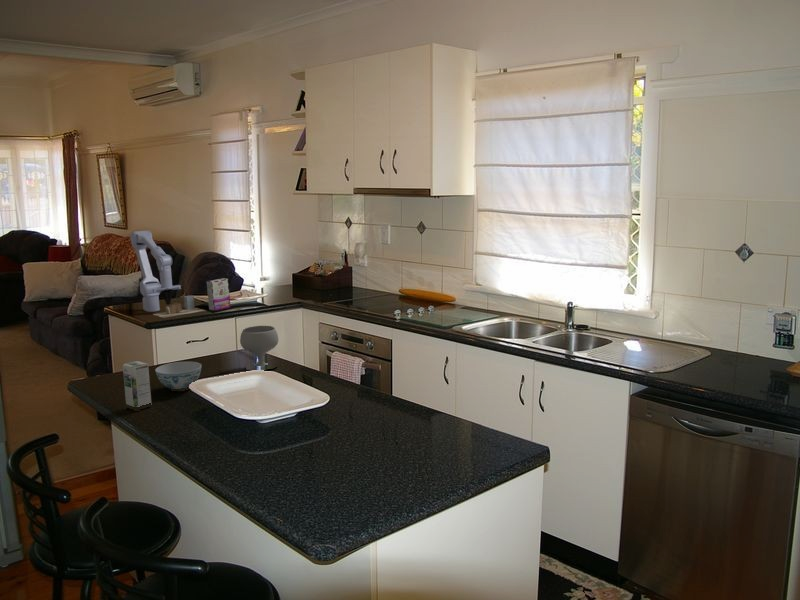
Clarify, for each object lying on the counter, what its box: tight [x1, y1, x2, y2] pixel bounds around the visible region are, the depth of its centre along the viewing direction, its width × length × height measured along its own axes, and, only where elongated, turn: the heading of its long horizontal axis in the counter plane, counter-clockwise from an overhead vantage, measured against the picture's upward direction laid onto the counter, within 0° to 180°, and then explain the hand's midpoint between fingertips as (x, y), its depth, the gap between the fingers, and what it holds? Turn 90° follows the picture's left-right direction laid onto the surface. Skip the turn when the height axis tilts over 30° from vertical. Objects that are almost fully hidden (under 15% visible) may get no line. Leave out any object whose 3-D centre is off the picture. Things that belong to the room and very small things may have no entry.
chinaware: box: [154, 361, 202, 389], centre depth 238 cm, size 15×15×8 cm
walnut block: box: [164, 302, 183, 314], centre depth 369 cm, size 4×4×7 cm
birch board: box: [152, 307, 207, 319], centre depth 371 cm, size 14×24×1 cm, turn 133°
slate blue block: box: [182, 295, 196, 310], centre depth 379 cm, size 4×4×7 cm
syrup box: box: [122, 360, 152, 407], centre depth 219 cm, size 6×6×14 cm
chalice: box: [239, 325, 279, 366], centre depth 261 cm, size 14×14×15 cm
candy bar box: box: [206, 277, 231, 311], centre depth 378 cm, size 11×5×16 cm, turn 143°
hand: (168, 304), depth 367 cm, fingers closed
